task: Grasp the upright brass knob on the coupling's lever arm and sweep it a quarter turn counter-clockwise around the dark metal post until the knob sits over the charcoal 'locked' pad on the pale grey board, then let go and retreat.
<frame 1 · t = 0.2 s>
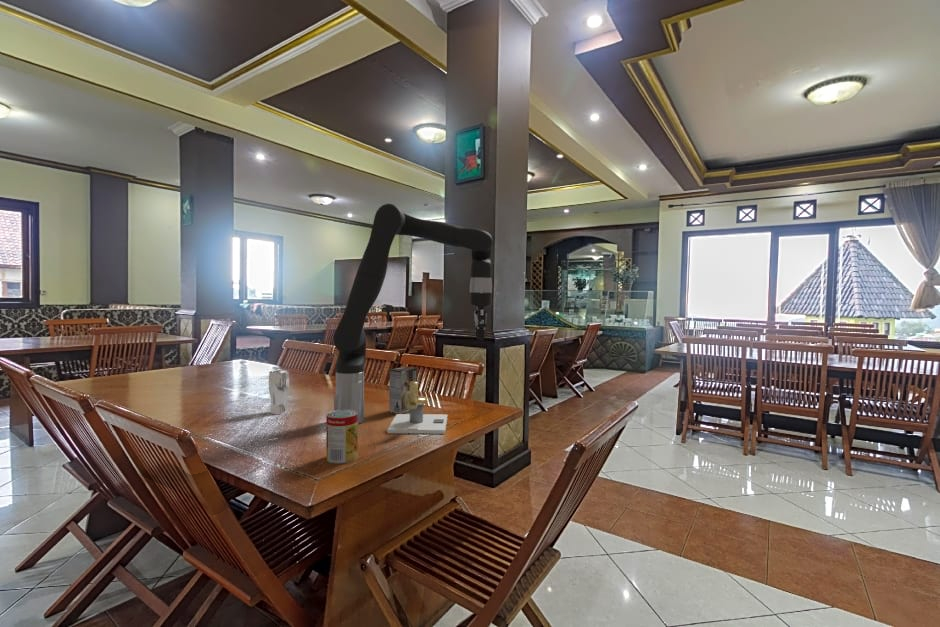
hand: (479, 339, 146), 29 cm above the table, tool pointing down, fingers open, 8 cm apart
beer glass: (279, 412, 158), on the table
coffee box: (403, 411, 163), on the table
base: (416, 425, 145), on the table
coupling: (415, 391, 141), point 12 cm above the table, hinge at 0.0°
canned food: (342, 458, 115), on the table
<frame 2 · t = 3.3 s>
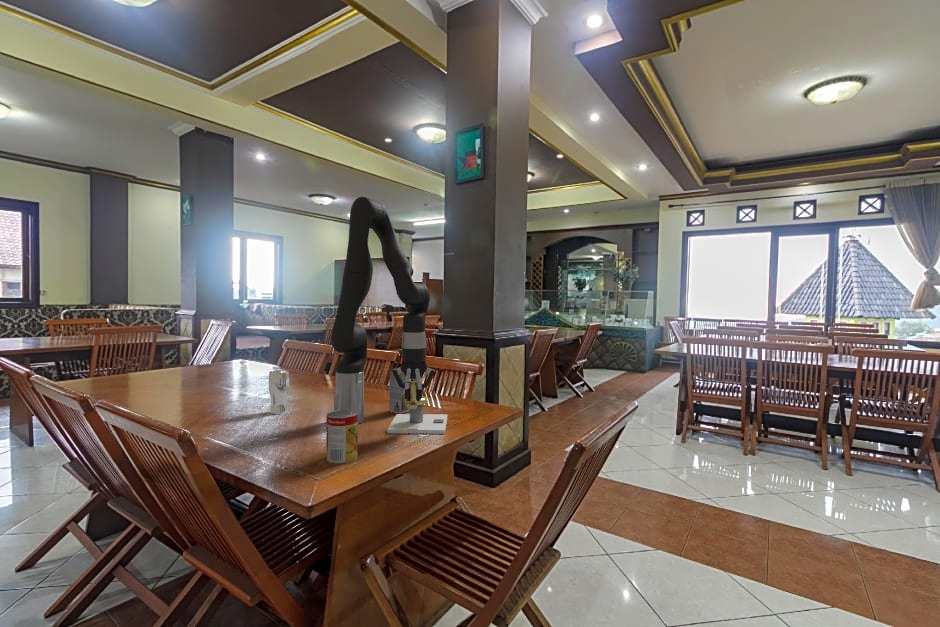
hand: (413, 400, 137), 10 cm above the table, tool pointing down, fingers closed on coupling, 2 cm apart
coupling: (415, 391, 141), point 12 cm above the table, hinge at 0.0°, touching gripper
everything else where it was.
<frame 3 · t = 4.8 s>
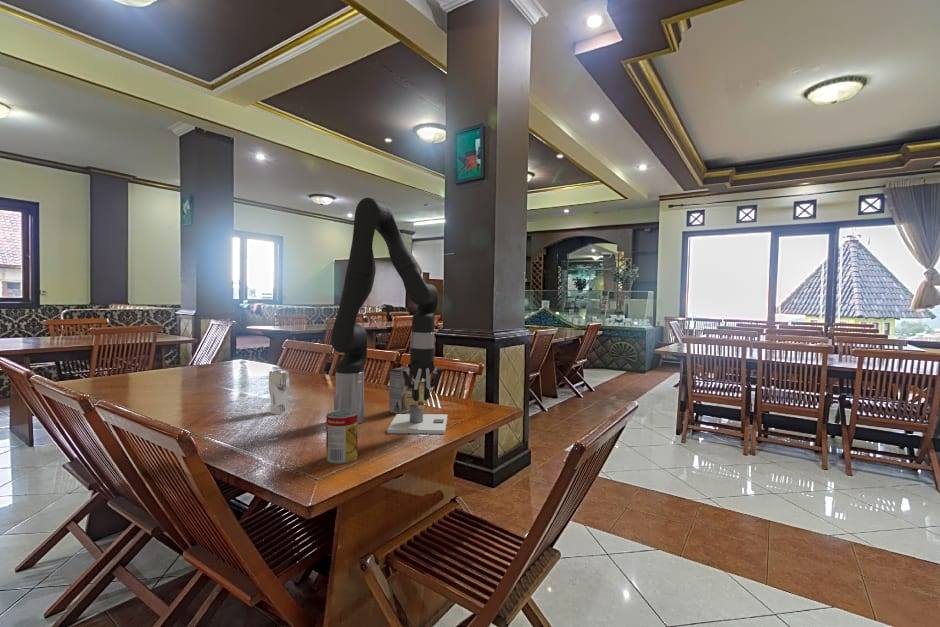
hand: (420, 400, 137), 10 cm above the table, tool pointing down, fingers closed on coupling, 2 cm apart
coupling: (418, 391, 142), point 12 cm above the table, hinge at 17.0°, touching gripper
everything else where it was.
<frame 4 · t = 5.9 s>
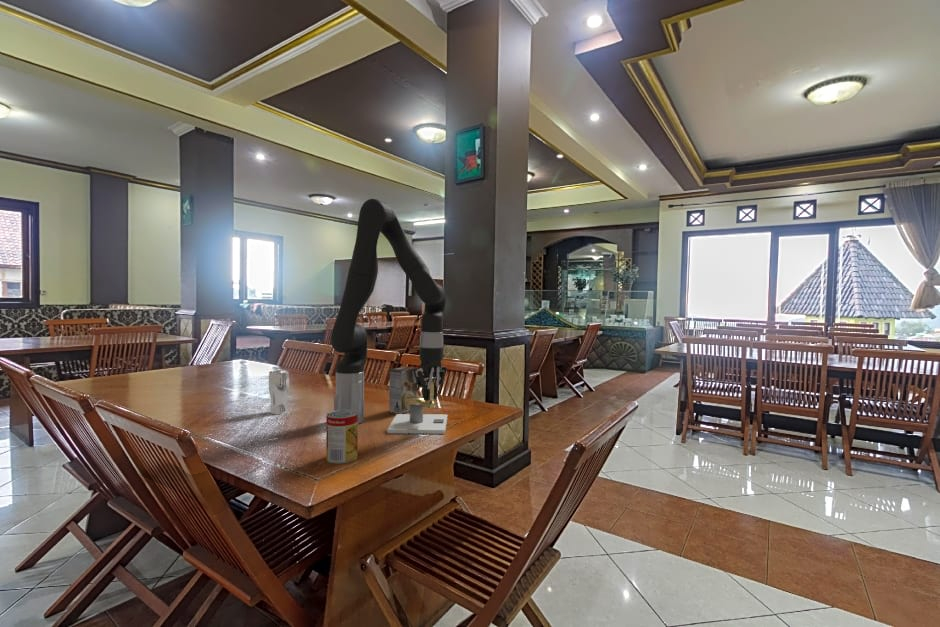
hand: (430, 399, 139), 10 cm above the table, tool pointing down, fingers closed on coupling, 2 cm apart
coupling: (421, 391, 142), point 12 cm above the table, hinge at 41.9°, touching gripper
everything else where it was.
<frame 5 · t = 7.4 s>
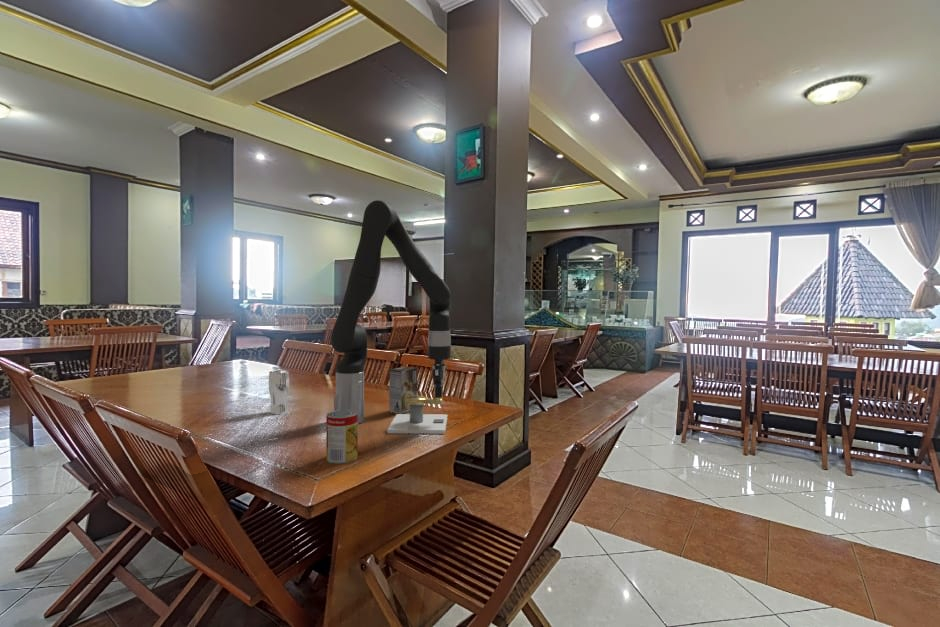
hand: (439, 396, 143), 10 cm above the table, tool pointing down, fingers closed on coupling, 2 cm apart
coupling: (424, 390, 144), point 12 cm above the table, hinge at 77.9°, touching gripper
everything else where it was.
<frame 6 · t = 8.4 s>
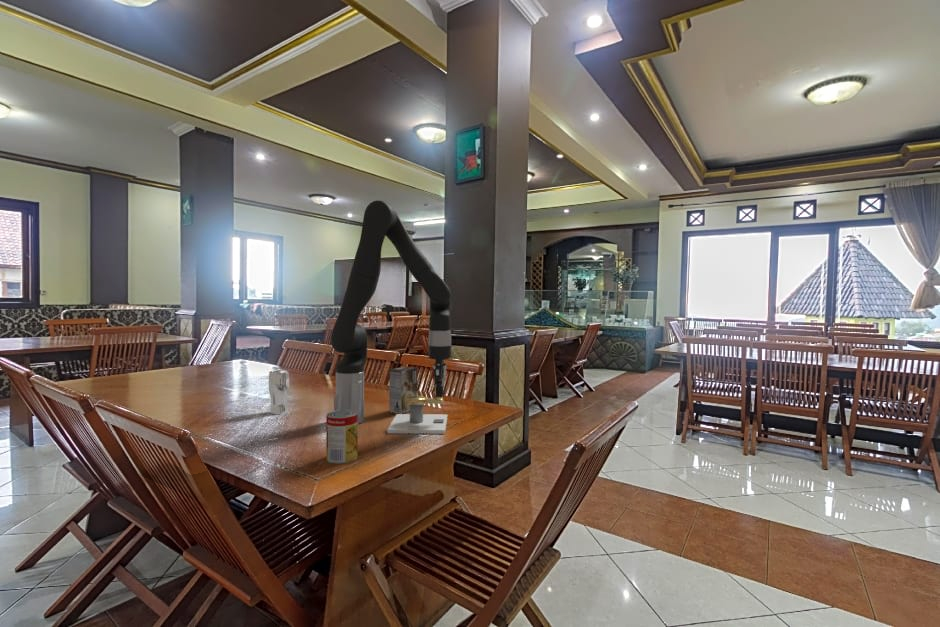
hand: (439, 395, 143), 10 cm above the table, tool pointing down, fingers closed on coupling, 2 cm apart
coupling: (424, 390, 144), point 12 cm above the table, hinge at 83.1°, touching gripper
everything else where it was.
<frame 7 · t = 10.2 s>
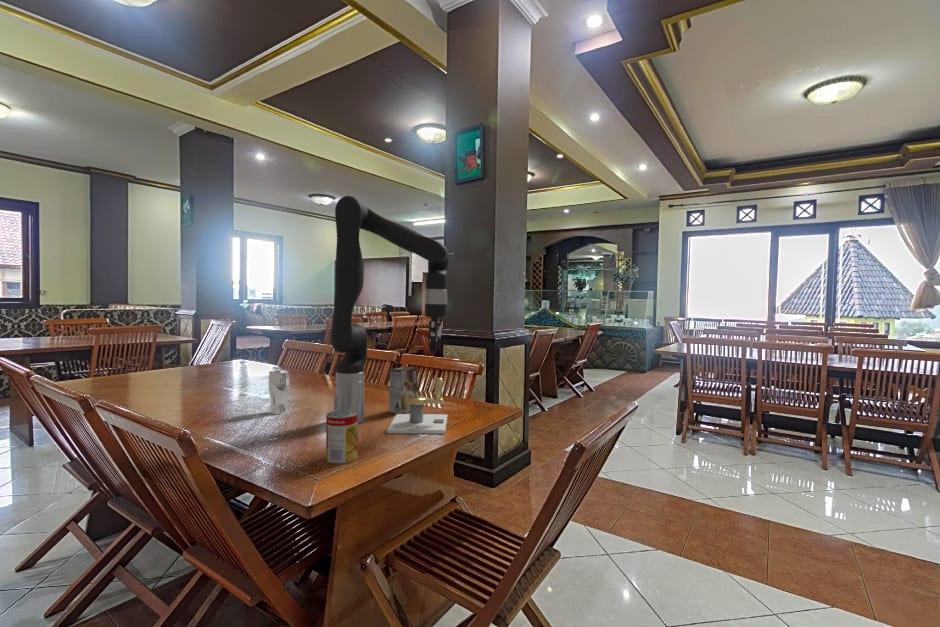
hand: (434, 351, 145), 25 cm above the table, tool pointing down, fingers open, 8 cm apart
coupling: (424, 390, 144), point 12 cm above the table, hinge at 83.3°
everything else where it was.
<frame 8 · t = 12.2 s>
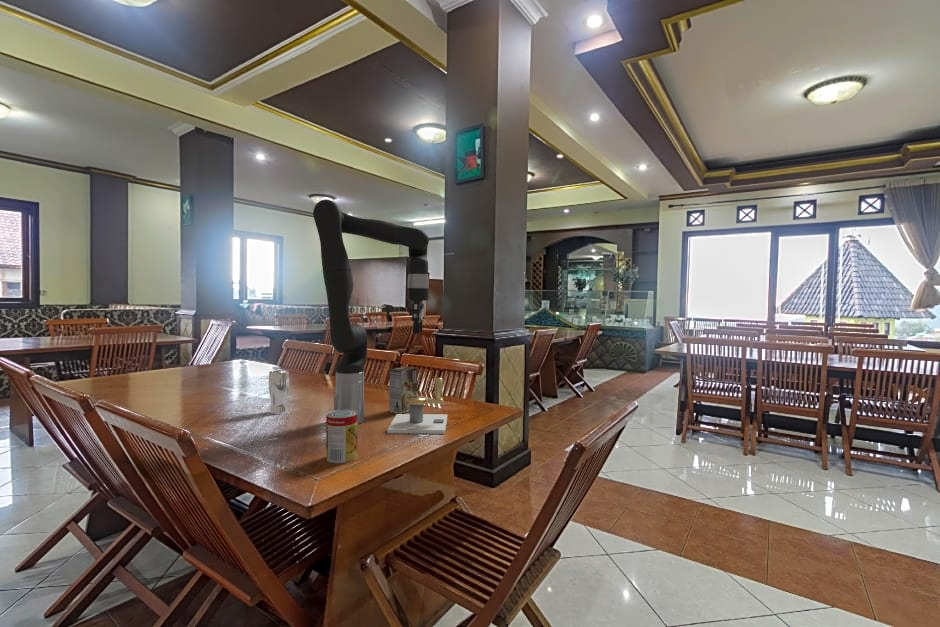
hand: (417, 332, 154), 30 cm above the table, tool pointing down, fingers open, 8 cm apart
nothing on the table moved.
at the end: coupling at +83° (first picture: +0°); the gripper is holding nothing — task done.
